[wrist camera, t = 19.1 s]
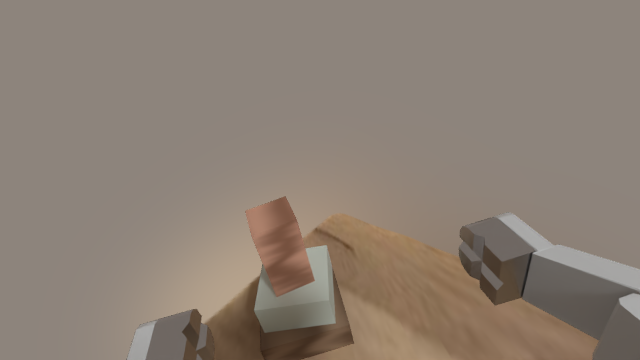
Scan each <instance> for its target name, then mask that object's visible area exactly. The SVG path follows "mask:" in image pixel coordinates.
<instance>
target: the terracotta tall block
mask: <svg viewBox="0 0 640 360" xmlns="http://www.w3.org/2000/svg"><path fill="white" fill-rule="evenodd" d="M245 212H246V216H247V220H248V224H249V228H250V232H251V236H252V238H253V240H254V243H255V246H256V248H257V251H258V253H259V255H260V258H261V260H262V263H263V265H264V268H265V270H266V272H267V275H268V277H269V280H270V282H271V285H272V287H273V290H274V292H275V294H276V297H278V296H281V295H283V294H285V293H288V292H290V291H293V290H295V289H297V288H300V287H302V286H304V285H307V284H309V283H312V282H314V281H315V279H314V276H313V273H312V269H311V266H310V263H309V259H308V256H307V252H306V249H305V246H304V242H303V239H302V236H301V232H300V229H299V226H298V222H297V220H296V217H295V215H294V213H293V211H292V209H291V207H290V205H289V203H288V201H287V199H286V197H282V198H279V199H277V200H274V201H271V202H268V203H265V204H263V205H260V206H257V207H254V208H252V209H249V210H246V211H245Z"/></svg>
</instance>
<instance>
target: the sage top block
mask: <svg viewBox="0 0 640 360" xmlns="http://www.w3.org/2000/svg"><path fill="white" fill-rule="evenodd" d="M306 252H307V256H308V259H309V263H310V266H311V269H312V273H313V276H314V279H315V281H314V282H312V283H309V284H307V285H304V286H302V287H300V288H297V289H295V290H293V291H290V292H288V293H285V294H283V295H281V296H278V297H276V294H275V292H274V290H273V287H272V285H271V282H270V280H269V277H268V275H267V272H266V270H265V268H264V265H262V270H261V275H260V281H259V286H258V291H257V297H256V302H255V308H254V312H255V314H256V316H257V318H258V320H259V322H260V324H261V326H262V328H263V330H264V332H265V333H267V332H275V331H282V330H290V329H297V328H305V327H312V326H320V325H327V324H335V323H336V321H335V305H334V289H333V273H332V265H331V261H330V257H329V253H328V249H327V245H325V246H318V247H312V248H306Z"/></svg>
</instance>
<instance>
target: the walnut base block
mask: <svg viewBox="0 0 640 360" xmlns="http://www.w3.org/2000/svg"><path fill="white" fill-rule="evenodd" d="M331 265H332V264H331ZM332 273H333V289H334V305H335V321H336V323H335V324H327V325H320V326H312V327H305V328H297V329H290V330H282V331H275V332H267V333H265V332H264V330H263V328H262V326H261V324H260V337H261V352H262V354H263V356H264V358H265V360H301V359H304V358H308V357H311V356H314V355H318V354H321V353H324V352H327V351H331V350H334V349H337V348H341V347H344V346H347V345H351V344H354V341H353V337H352V333H351V329H350V325H349V321H348V318H347V315H346V311H345V308H344V305H343V301H342V298H341V295H340V291H339V288H338V285H337V281H336V278H335V274H334V271H333V268H332Z"/></svg>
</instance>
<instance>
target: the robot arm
mask: <svg viewBox="0 0 640 360" xmlns="http://www.w3.org/2000/svg"><path fill="white" fill-rule="evenodd" d="M460 238H461V239H462V240H463V242H462V244H461V245H460V246H459V257H460V260H461V263H462V265H463V267H464V269H465V270H466V272H467V273H468V274H469V275H470V276H471V277H473V278H475V279H478V280H480V289H481V290H482V291H483V292H484V293H485V294H486V296H487V297H488V298H489V299H490V300H491V302H492V303H493V304H494V305H498V304H502V303H505V302H508V301H512V300H515V299H518V298H522V299H523V300H525V301H527V302H529V303H531V304H532V305H534V306H536V307H538V308H540V309H542V310H543V311H545V312H547V313H549V314H551V315H553V316H555V317H556V318H558V319H560V320H562V321H564V322H566V323H568V324H569V325H571V326H573V327H575V328H577V329H579V330H581V331H582V332H584V333H586V334H588V335H590V336H592V337H594V338H595V339H597V340H599V342H598V344H597V346H596V348H595V350H594V352H593V360H640V269H637V268H633V267H630V266H627V265H624V264H621V263H617V262H614V261H611V260H608V259H605V258H601V257H598V256H595V255H591V254H588V253H585V252H582V251H578V250H575V249H572V248H569V247H565V246H562V245H556V246H554V245H553V244H551V243H550V242H549V241H547V240H546V239H545V238H544V237H542V236H541V235H540V234H538V233H537V232H536V231H535V230H533V229H532V228H531V227H529V226H528V225H527V224H525V223H524V222H523V221H522V220H521V219H519V218H518V217H516V216H515V215H514V214H512V213H509V212H507V213H504V214H501V215H497V216H495V217H492V218H487V219H484V220H481V221H478V222H475V223H472V224H469V225H466V226H462V228H461V229H460ZM213 359H214V341H213V336H212V333H211V331H210V329H209V327H208V326H207V325H205V324H202V323H201V315H200V313H199V312H198V310H197V309H193V310H190V311H186V312H182V313H179V314H175V315H171V316H168V317H164V318H161V319H158V320H155V321H151V322H148V323H144V324H141V325H140V326H139V327H138V328H137V330H136V332H135V335H134V338H133V341H132V344H131V347H130V350H129V353H128V356H127V359H126V360H213Z"/></svg>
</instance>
